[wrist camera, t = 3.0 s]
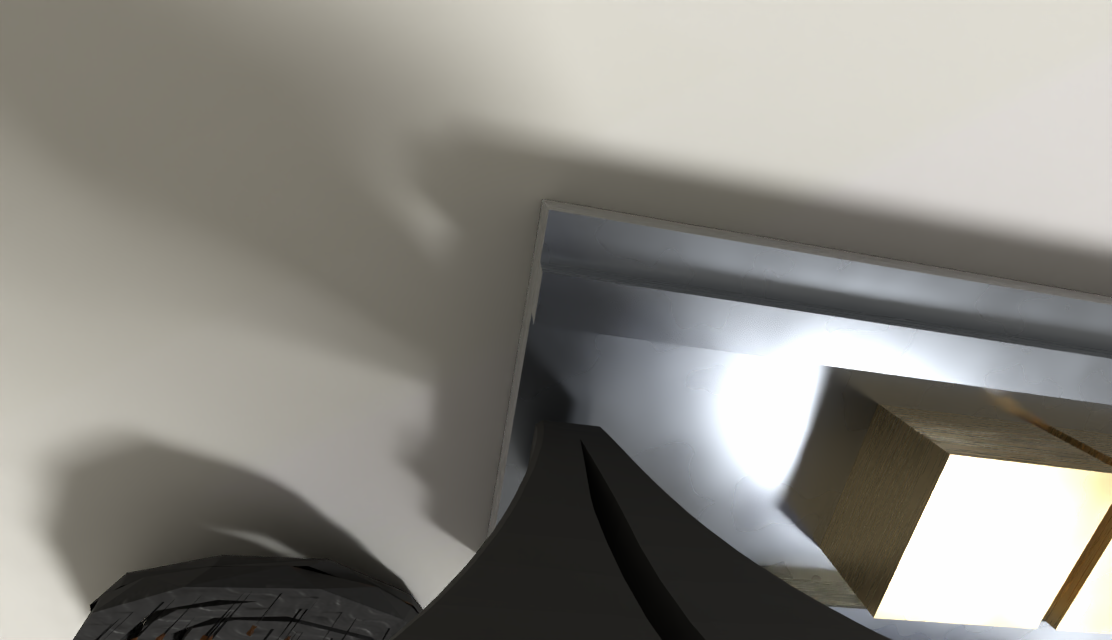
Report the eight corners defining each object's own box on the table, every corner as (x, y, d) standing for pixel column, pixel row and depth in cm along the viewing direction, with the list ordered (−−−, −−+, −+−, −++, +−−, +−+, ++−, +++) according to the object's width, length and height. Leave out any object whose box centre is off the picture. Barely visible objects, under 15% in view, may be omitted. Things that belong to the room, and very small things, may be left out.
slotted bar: (1218, 315, 14) (1383, 354, 11) (1046, 601, 17) (1145, 685, 14) (542, 198, 11) (552, 215, 9) (483, 558, 14) (477, 651, 12)
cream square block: (1031, 423, 12) (1128, 475, 10) (961, 560, 13) (1036, 628, 11) (878, 403, 12) (950, 454, 10) (819, 548, 13) (873, 617, 11)
